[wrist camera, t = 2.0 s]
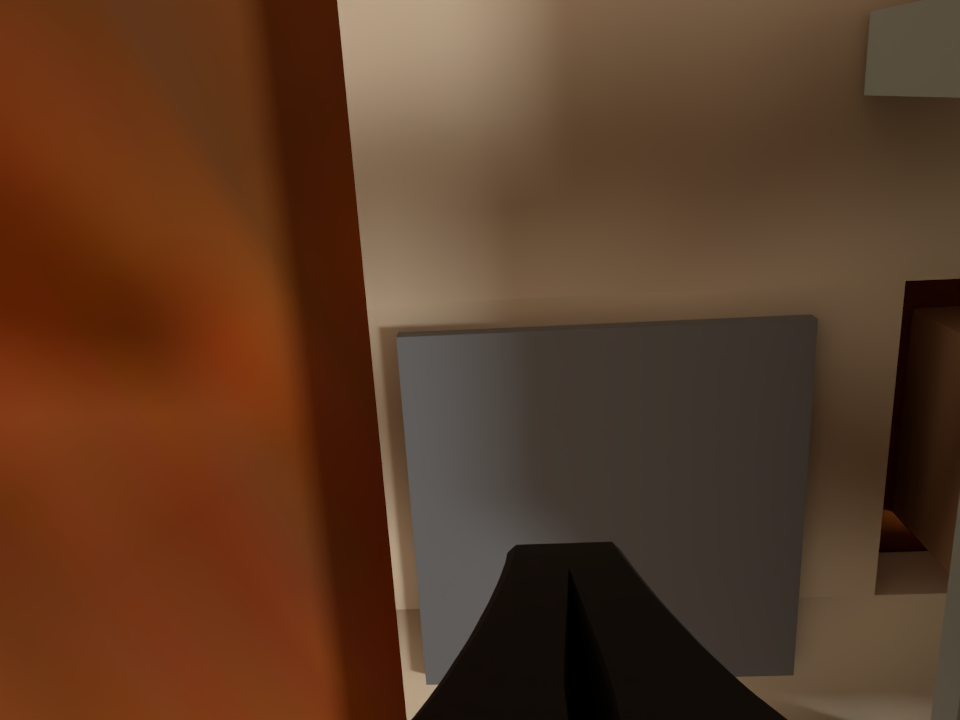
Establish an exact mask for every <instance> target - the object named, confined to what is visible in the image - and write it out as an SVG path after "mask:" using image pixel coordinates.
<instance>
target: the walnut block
mask: <svg viewBox="0 0 960 720" xmlns="http://www.w3.org/2000/svg"><path fill="white" fill-rule="evenodd" d="M959 494H960V306H952V307H929V308H913V315H912V324H911V334H910V344H909V353H908V363H907V373H906V383H905V392H904V402H903V412H902V422H901V431H900V441H899V451H898V460H897V470H896V480H895V490H894V499H893V509H892V512H893V513H894V514H895V515H896V516H897V517H898V518H899V519H900V520H901V521H902V523H903V524H904V525H905V526H906V527H907V528H908V529H909V530H910V531H911V532H912V534H913V535H914V536H915V537H916V538H917V539H918V540H919V541H920V542H921V543H922V545H923V546H924V547H925V548H926V549H927V550H928V551H929V552H930V553H931V554H932V556H933V557H934V558H935V559H936V560H937V561H938V562H939V563H940V564H941V566H942V567H943V568H944V569H945V570H946V571H947V572H948V573H949V572H950V565H951V557H952V549H953V541H954V533H955V526H956V518H957V510H958V502H959Z"/></svg>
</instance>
